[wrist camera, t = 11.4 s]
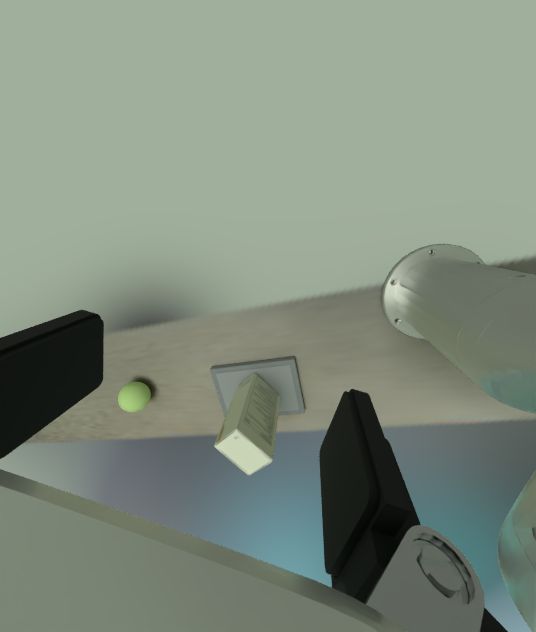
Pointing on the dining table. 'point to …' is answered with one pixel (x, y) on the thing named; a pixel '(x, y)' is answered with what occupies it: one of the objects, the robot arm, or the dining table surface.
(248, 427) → the skincare box
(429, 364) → the dining table surface
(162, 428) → the dining table surface
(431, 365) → the dining table surface
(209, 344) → the dining table surface
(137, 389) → the lime
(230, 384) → the metal tray
